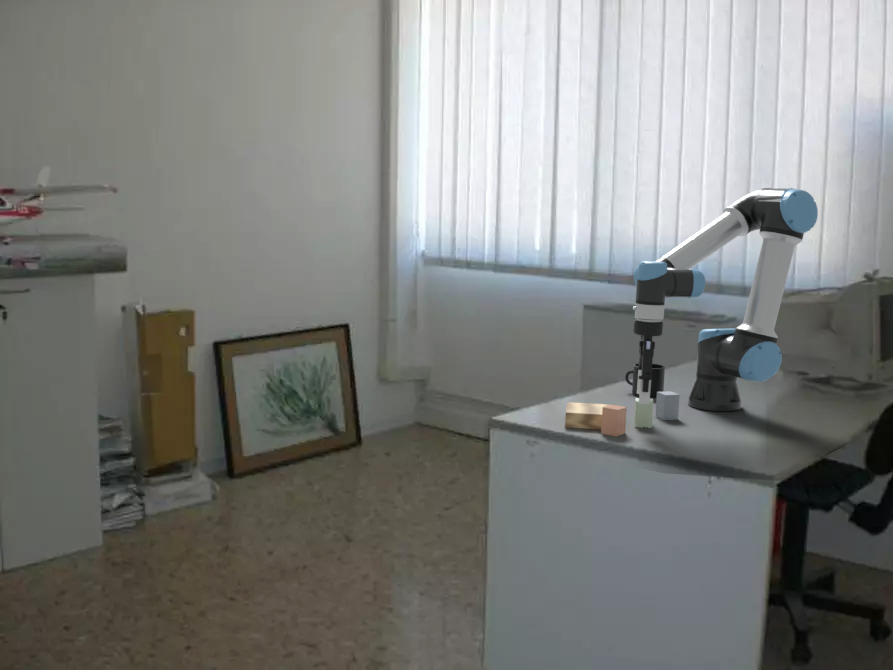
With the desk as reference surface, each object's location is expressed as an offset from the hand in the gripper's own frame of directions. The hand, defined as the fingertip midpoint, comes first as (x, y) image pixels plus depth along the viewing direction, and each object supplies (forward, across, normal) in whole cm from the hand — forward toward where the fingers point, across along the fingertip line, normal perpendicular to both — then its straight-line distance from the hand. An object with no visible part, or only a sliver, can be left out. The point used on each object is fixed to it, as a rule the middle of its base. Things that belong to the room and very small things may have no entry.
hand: (642, 398), depth 274 cm
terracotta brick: (+8, +11, -8) cm, 15 cm away
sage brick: (+7, 0, 0) cm, 7 cm away
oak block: (+8, +1, -14) cm, 15 cm away
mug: (+7, -42, +2) cm, 43 cm away
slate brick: (+7, -11, +8) cm, 15 cm away
